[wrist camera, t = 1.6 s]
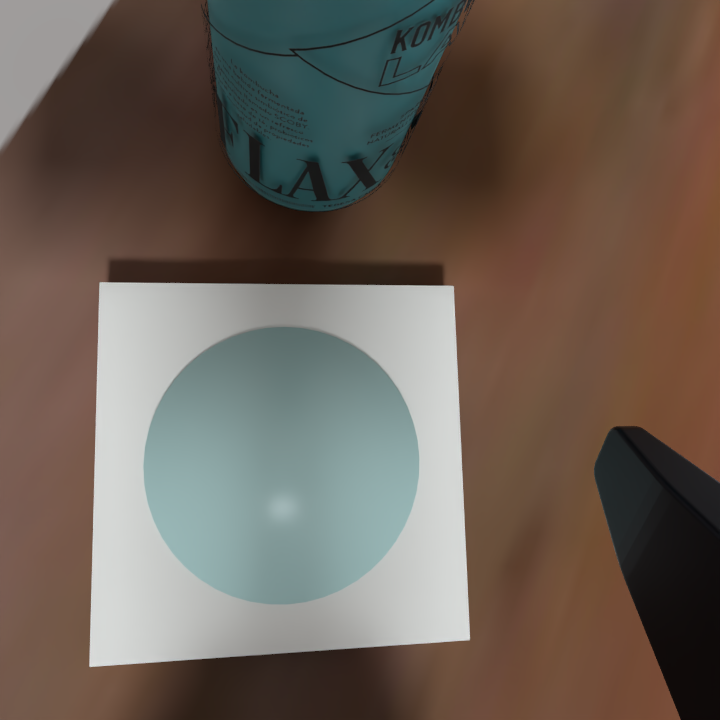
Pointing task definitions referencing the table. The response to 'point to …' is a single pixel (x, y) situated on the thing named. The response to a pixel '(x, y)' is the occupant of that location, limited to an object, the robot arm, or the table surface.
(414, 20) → the beverage bottle
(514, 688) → the table surface
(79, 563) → the table surface
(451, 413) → the pad
